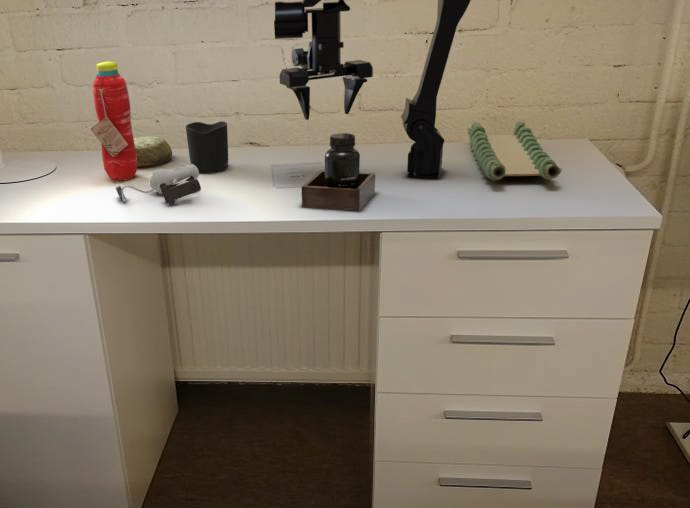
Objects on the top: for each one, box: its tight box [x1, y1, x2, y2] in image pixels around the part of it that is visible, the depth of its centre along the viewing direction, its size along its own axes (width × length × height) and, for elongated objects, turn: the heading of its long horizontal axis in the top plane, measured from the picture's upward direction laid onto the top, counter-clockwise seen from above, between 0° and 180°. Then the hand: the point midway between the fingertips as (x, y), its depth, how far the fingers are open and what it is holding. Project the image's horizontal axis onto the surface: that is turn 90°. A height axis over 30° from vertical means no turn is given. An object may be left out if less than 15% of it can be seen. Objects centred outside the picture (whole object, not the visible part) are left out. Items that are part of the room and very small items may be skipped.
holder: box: [301, 170, 376, 212], centre depth 154 cm, size 12×12×4 cm
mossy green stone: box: [133, 136, 173, 167], centre depth 188 cm, size 14×13×5 cm
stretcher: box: [467, 120, 563, 182], centre depth 170 cm, size 41×14×5 cm, turn 173°
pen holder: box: [185, 120, 229, 174], centre depth 178 cm, size 9×9×10 cm
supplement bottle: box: [324, 132, 361, 189], centre depth 152 cm, size 7×7×12 cm
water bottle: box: [90, 61, 139, 182], centre depth 171 cm, size 12×8×25 cm, turn 164°
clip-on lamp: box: [115, 163, 202, 206], centre depth 161 cm, size 12×6×18 cm
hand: (326, 116), depth 162 cm, fingers open, 9 cm apart
